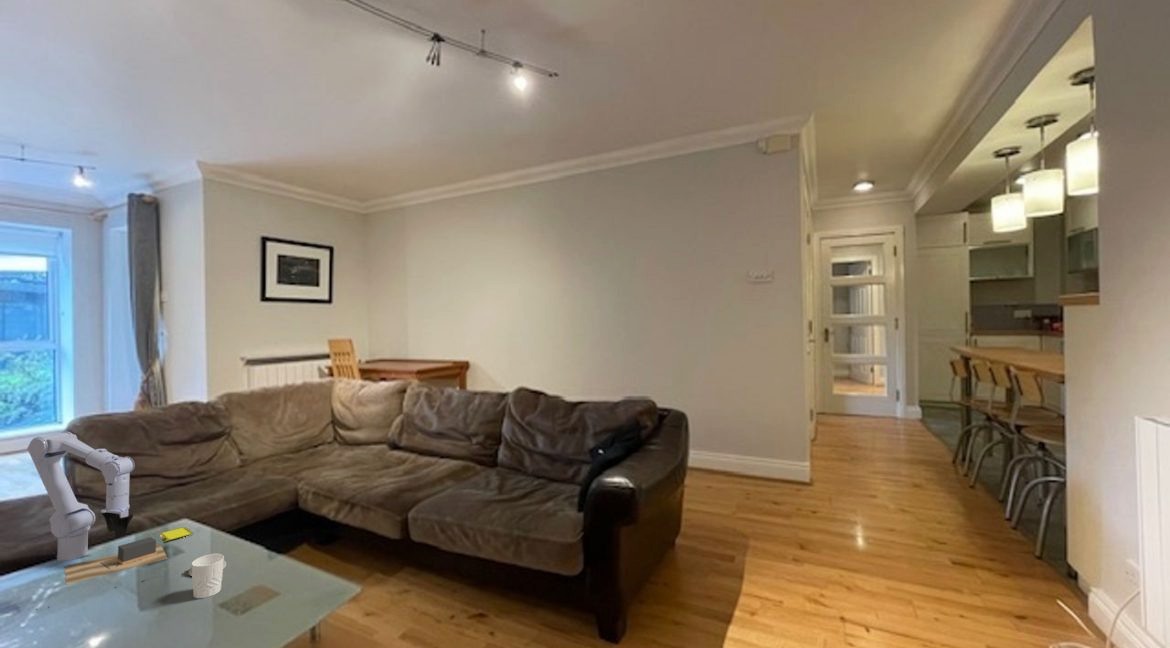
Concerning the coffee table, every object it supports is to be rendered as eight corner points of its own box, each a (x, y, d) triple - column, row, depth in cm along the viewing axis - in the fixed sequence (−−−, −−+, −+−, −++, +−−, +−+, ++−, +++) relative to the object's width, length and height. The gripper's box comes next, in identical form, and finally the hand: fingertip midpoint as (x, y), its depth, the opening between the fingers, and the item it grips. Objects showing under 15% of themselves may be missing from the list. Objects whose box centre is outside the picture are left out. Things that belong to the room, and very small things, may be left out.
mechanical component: (180, 576, 160) (205, 580, 158) (180, 562, 160) (205, 566, 158) (209, 562, 169) (233, 565, 167) (210, 549, 169) (233, 552, 167)
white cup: (229, 588, 152) (230, 556, 153) (202, 602, 145) (203, 568, 145) (211, 584, 155) (212, 552, 155) (184, 596, 148) (185, 563, 148)
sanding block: (116, 560, 166) (117, 546, 166) (150, 550, 174) (151, 536, 174) (122, 564, 163) (122, 549, 163) (156, 554, 171) (156, 540, 171)
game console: (184, 529, 197) (184, 525, 197) (194, 536, 190) (194, 532, 190) (124, 545, 182) (124, 541, 182) (133, 553, 175) (133, 549, 175)
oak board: (64, 570, 161) (64, 566, 161) (160, 547, 179) (160, 543, 179) (66, 588, 151) (66, 584, 151) (167, 561, 168) (167, 558, 168)
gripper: (95, 493, 169) (94, 532, 169) (108, 501, 161) (107, 543, 161) (122, 487, 175) (121, 525, 175) (136, 495, 167) (135, 535, 167)
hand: (116, 533), depth 168 cm, fingers open, 7 cm apart
